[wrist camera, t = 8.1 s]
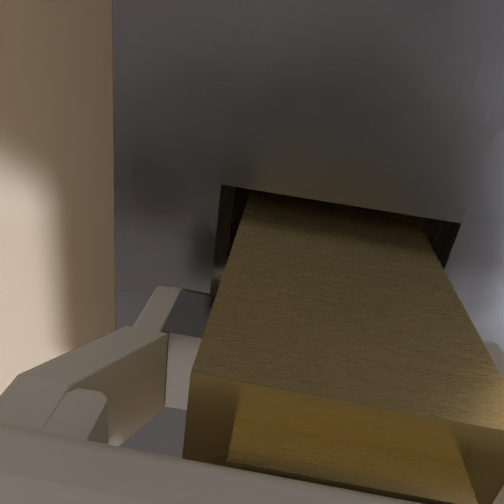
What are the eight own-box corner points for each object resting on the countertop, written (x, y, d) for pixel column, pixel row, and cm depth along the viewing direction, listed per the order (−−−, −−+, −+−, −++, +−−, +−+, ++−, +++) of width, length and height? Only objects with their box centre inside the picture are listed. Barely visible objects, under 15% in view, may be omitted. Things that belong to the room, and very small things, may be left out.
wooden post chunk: (411, 209, 11) (558, 481, 5) (370, 336, 13) (434, 662, 7) (253, 182, 12) (177, 411, 5) (234, 312, 13) (160, 608, 7)
